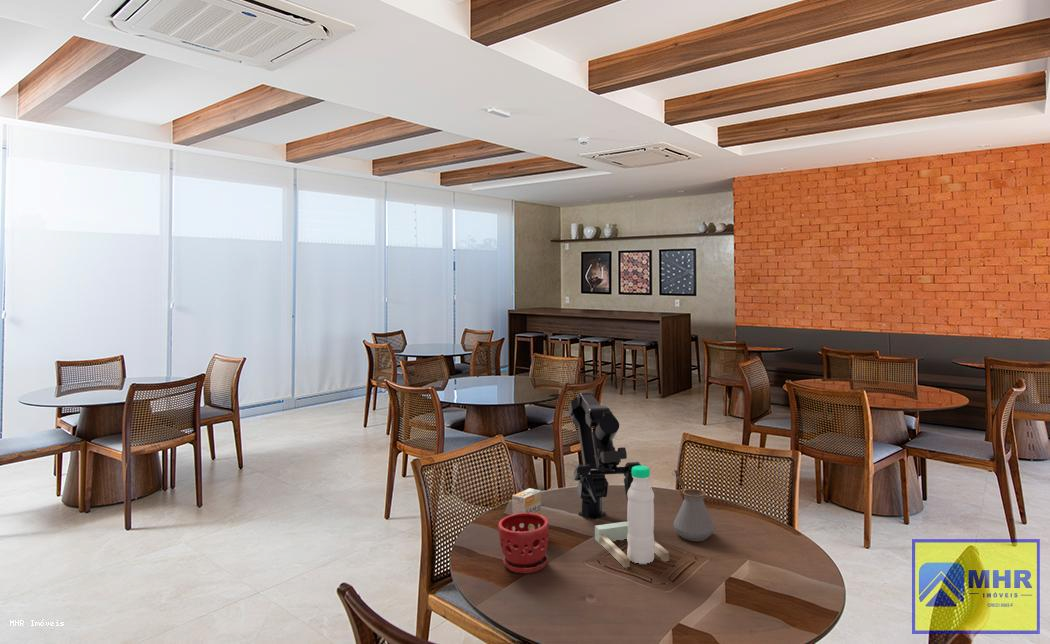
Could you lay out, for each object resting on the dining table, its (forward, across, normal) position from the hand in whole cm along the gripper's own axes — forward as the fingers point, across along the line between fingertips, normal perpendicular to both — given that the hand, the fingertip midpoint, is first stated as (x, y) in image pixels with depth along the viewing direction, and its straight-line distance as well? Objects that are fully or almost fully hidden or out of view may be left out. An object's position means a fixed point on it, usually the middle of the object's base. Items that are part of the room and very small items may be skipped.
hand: (612, 501), depth 165 cm
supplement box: (+4, -22, +18) cm, 29 cm away
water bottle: (+15, +6, +2) cm, 17 cm away
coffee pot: (+5, +26, +16) cm, 31 cm away
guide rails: (+12, +5, +6) cm, 15 cm away
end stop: (+7, +3, +13) cm, 15 cm away
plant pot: (+15, -26, +3) cm, 30 cm away
